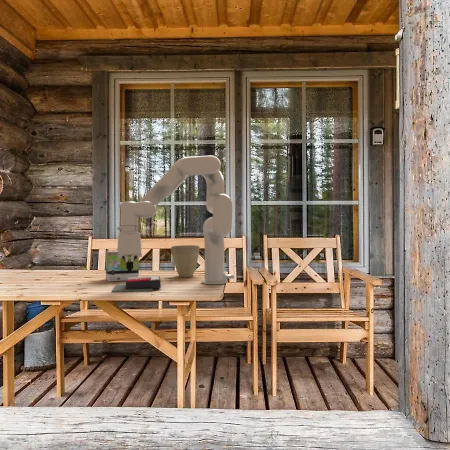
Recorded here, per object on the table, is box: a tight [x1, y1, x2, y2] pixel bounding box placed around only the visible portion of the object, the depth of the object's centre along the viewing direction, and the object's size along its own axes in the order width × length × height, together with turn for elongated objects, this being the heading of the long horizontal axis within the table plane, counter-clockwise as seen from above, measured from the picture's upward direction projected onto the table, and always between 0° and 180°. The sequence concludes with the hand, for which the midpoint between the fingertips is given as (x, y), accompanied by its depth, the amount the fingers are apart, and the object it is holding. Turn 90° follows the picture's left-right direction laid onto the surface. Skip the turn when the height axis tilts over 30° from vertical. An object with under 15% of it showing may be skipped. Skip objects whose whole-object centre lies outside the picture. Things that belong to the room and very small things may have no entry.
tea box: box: [105, 249, 140, 282], centre depth 222 cm, size 15×10×15 cm, turn 112°
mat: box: [111, 283, 153, 293], centre depth 197 cm, size 17×16×1 cm
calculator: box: [125, 275, 162, 290], centre depth 198 cm, size 11×4×15 cm
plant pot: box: [171, 244, 201, 278], centre depth 233 cm, size 15×15×16 cm
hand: (129, 270), depth 197 cm, fingers closed
